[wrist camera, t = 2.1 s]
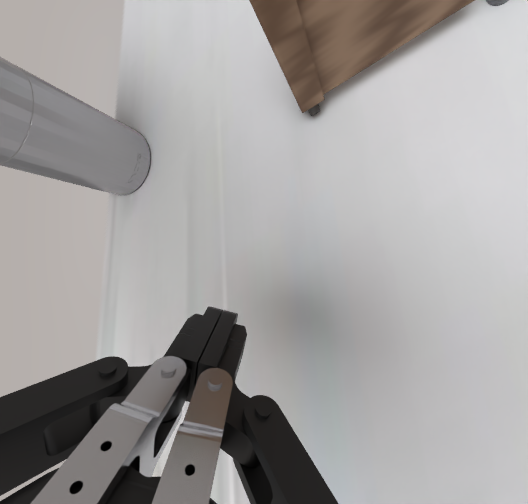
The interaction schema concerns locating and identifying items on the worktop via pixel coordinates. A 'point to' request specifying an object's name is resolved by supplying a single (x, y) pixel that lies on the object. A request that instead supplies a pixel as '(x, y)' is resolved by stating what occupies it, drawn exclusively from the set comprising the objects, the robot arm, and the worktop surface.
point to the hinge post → (496, 2)
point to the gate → (341, 37)
